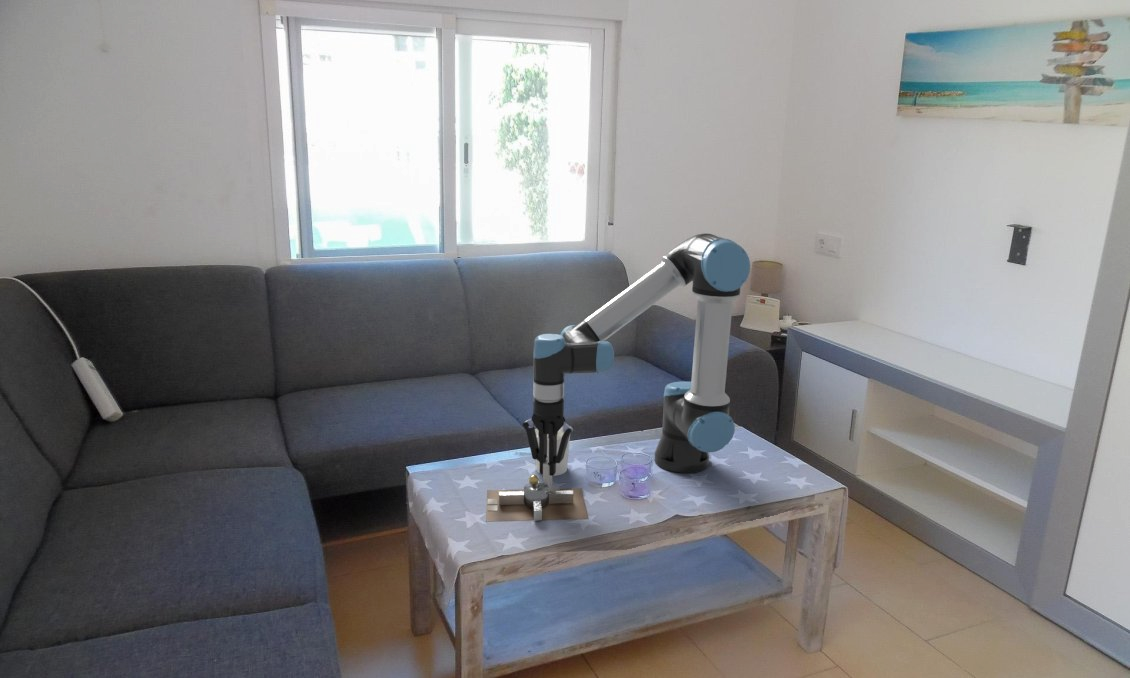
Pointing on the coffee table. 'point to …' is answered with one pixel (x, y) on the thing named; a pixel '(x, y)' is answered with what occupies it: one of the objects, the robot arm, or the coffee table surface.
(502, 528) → the coffee table surface
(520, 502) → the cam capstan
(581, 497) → the level base
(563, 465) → the candle holder
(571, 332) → the robot arm
